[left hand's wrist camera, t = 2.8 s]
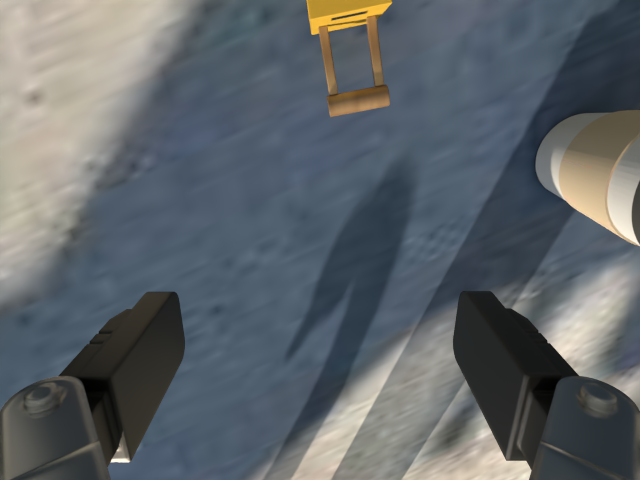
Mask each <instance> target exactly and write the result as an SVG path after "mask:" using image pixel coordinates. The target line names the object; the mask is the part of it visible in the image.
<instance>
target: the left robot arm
mask: <svg viewBox="0 0 640 480" xmlns="http://www.w3.org/2000/svg"><path fill="white" fill-rule="evenodd" d="M184 349H185V337H184V331H183V324H182V317H181V310H180V303H179V298H178V295H177V293H176V292H147V293H145V294H144V296H143V297H142V298H141V299H140V300H139V301H138V303H137V304H136V305H135V306H134V307H133V308H132V309H126V310H125V311H123V312H121V313H120V314H118V315H116V316H115V317H113V318H112V319H110V320H109V321H108V322H107V323H106V324H105V325H104V327H103V328H102V329H101V330H100V331H99V334H96V335H95V336H94V338H93V339H92V340H91V341H90V344H87V345H86V346H85V347H84V349H83V350H82V351H81V352H80V353H79V354H78V355H77V356H76V357H75V358H74V359H73V361H72V362H71V363H70V364H69V365H68V366H67V367H66V368H65V369H64V370H63V372H62V373H61V374H60V375H59V376H58V377H52V378H47V379H44V380H41V381H38V382H36V383H33V384H31V385H29V386H27V387H25V388H24V389H22V390H20V391H19V392H17V393H16V394H14V395H13V396H12V397H11V398H10V399H9V400H8V401H7V402H6V403H5V404H4V406H3V407H2V409H1V411H0V480H111V478H110V475H109V471H108V468H107V467H108V465H109V464H110V462H131V460H132V458H133V456H134V454H135V452H136V450H137V448H138V446H139V444H140V442H141V440H142V439H143V437H144V435H145V433H146V431H147V429H148V427H149V425H150V423H151V421H152V419H153V417H154V415H155V413H156V411H157V409H158V407H159V405H160V403H161V401H162V399H163V397H164V395H165V393H166V391H167V389H168V387H169V385H170V383H171V381H172V379H173V377H174V375H175V373H176V371H177V369H178V368H179V366H180V364H181V361H182V359H183V355H184ZM453 349H454V355H455V358H456V361H457V363H458V365H459V367H460V369H461V371H462V373H463V375H464V377H465V379H466V381H467V383H468V385H469V387H470V389H471V391H472V393H473V395H474V397H475V399H476V401H477V403H478V405H479V407H480V409H481V411H482V413H483V415H484V417H485V419H486V421H487V423H488V425H489V427H490V429H491V431H492V433H493V435H494V437H495V439H496V441H497V443H498V445H499V447H500V449H501V451H502V453H503V455H504V457H505V459H506V461H527V463H528V464H529V466H530V468H531V470H532V471H531V475H530V478H529V480H640V411H639V409H638V407H637V406H636V404H635V403H634V402H633V401H632V400H631V399H630V398H629V397H628V396H627V395H626V394H624V393H623V392H621V391H620V390H618V389H616V388H615V387H613V386H611V385H609V384H607V383H604V382H602V381H599V380H596V379H593V378H588V377H582V376H579V375H578V374H577V373H576V372H575V371H574V370H573V369H572V368H571V366H570V365H569V364H568V363H567V362H566V361H565V360H564V359H563V358H562V356H561V355H560V354H559V353H558V352H557V351H556V350H555V349H554V348H553V346H552V345H551V344H550V343H547V340H546V339H545V338H544V336H543V335H542V334H541V333H538V330H537V329H536V328H535V326H534V325H533V324H532V323H531V322H530V321H529V320H528V319H527V318H525V317H524V316H522V315H521V314H519V313H517V312H516V311H514V310H512V309H506V308H505V307H504V306H503V305H502V304H501V302H500V301H499V300H498V299H497V298H496V297H495V295H494V294H493V293H492V292H490V291H463V292H461V294H460V297H459V302H458V309H457V316H456V323H455V329H454V336H453Z"/></svg>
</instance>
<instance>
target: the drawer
mask: <svg viewBox="0 0 640 480" xmlns="http://www.w3.org/2000/svg"><path fill="white" fill-rule="evenodd" d="M391 3H392V0H307V6H308V14H309V21H310V27H311V33H312V35H314V34H319V36H320V42H321V48H322V54H323V60H324V66H325V72H326V78H327V84H328V90H329V95H330V96H327V102H328V108H329V114H330V117H333V116H338V115H343V114H349V113H354V112H359V111H364V110H369V109H375V108H380V107H385V106H389V104H390V98H389V90H388V87H387V85H384V80H383V71H382V63H381V54H380V46H379V37H378V29H377V19H378V18H379V17H380V16H381V15H382V14H383V12H384V11H385V10H386V9H387V8H388V7H389V6H390V5H391ZM362 24H367V30H368V38H369V46H370V54H371V62H372V70H373V78H374V86H376V87H371V88H366V89H360V90H355V91H350V92H345V93H340V94H338V90H337V84H336V77H335V71H334V65H333V58H332V52H331V46H330V39H329V33H328V31H333V30H338V29H343V28H348V27H352V26H357V25H362Z"/></svg>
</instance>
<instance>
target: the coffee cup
mask: <svg viewBox="0 0 640 480" xmlns="http://www.w3.org/2000/svg"><path fill="white" fill-rule="evenodd" d="M536 173H537V176H538V179H539V181H540V182H541V184H542V185H543V186H544V187H545V188H546V189H547V190H549V191H551V192H552V193H554V194H556V195H557V196H559V197H561V198H562V199H564V200H565V201H567V202H568V203H569V204H570V205H571V206H572V207H573V208H575V209H576V210H578V211H580V212H581V213H583V214H584V215H586V216H588V217H589V218H591V219H593V220H594V221H596V222H597V223H599V224H601V225H602V226H604V227H605V228H607V229H609V230H610V231H612V232H614V233H615V234H617V235H618V236H620V237H622V238H623V239H625V240H627V241H628V242H630V243H632V244H635V245H638V246H640V110H624V111H617V112H612V113H583V114H578V115H574V116H571V117H569V118H567V119H565V120H563V121H561V122H560V123H559V124H557V125H556V126H555V127H554V128H553V129H552V130H551V131H550V132H549V133H548V134H547V135H546V137H545V138H544V139H543V141H542V143H541V145H540V147H539V149H538V152H537V156H536Z"/></svg>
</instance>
